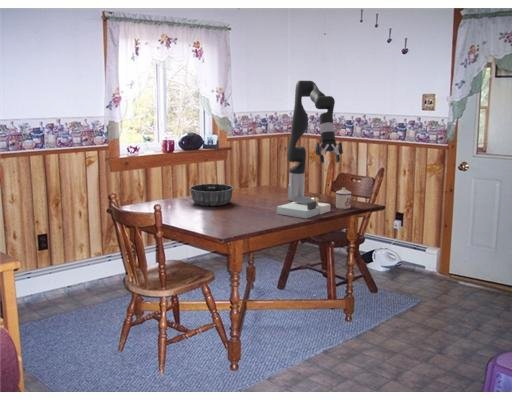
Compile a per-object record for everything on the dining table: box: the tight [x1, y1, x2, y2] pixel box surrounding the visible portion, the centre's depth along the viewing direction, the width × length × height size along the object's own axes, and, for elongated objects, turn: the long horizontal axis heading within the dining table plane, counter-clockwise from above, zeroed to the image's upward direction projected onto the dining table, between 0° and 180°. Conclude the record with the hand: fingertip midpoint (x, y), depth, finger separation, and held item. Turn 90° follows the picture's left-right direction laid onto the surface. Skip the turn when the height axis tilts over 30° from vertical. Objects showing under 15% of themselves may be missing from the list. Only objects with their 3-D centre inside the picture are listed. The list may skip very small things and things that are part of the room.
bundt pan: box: [189, 183, 235, 207], centre depth 371 cm, size 26×26×10 cm
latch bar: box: [294, 195, 320, 205], centre depth 351 cm, size 14×4×4 cm, turn 54°
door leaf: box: [276, 202, 319, 219], centre depth 344 cm, size 19×13×4 cm
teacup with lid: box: [335, 187, 352, 210], centre depth 364 cm, size 12×9×12 cm
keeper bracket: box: [307, 201, 316, 210], centre depth 339 cm, size 2×6×4 cm, turn 144°
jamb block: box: [291, 201, 331, 215], centre depth 354 cm, size 20×11×4 cm, turn 54°
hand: (330, 162), depth 325 cm, fingers open, 8 cm apart
